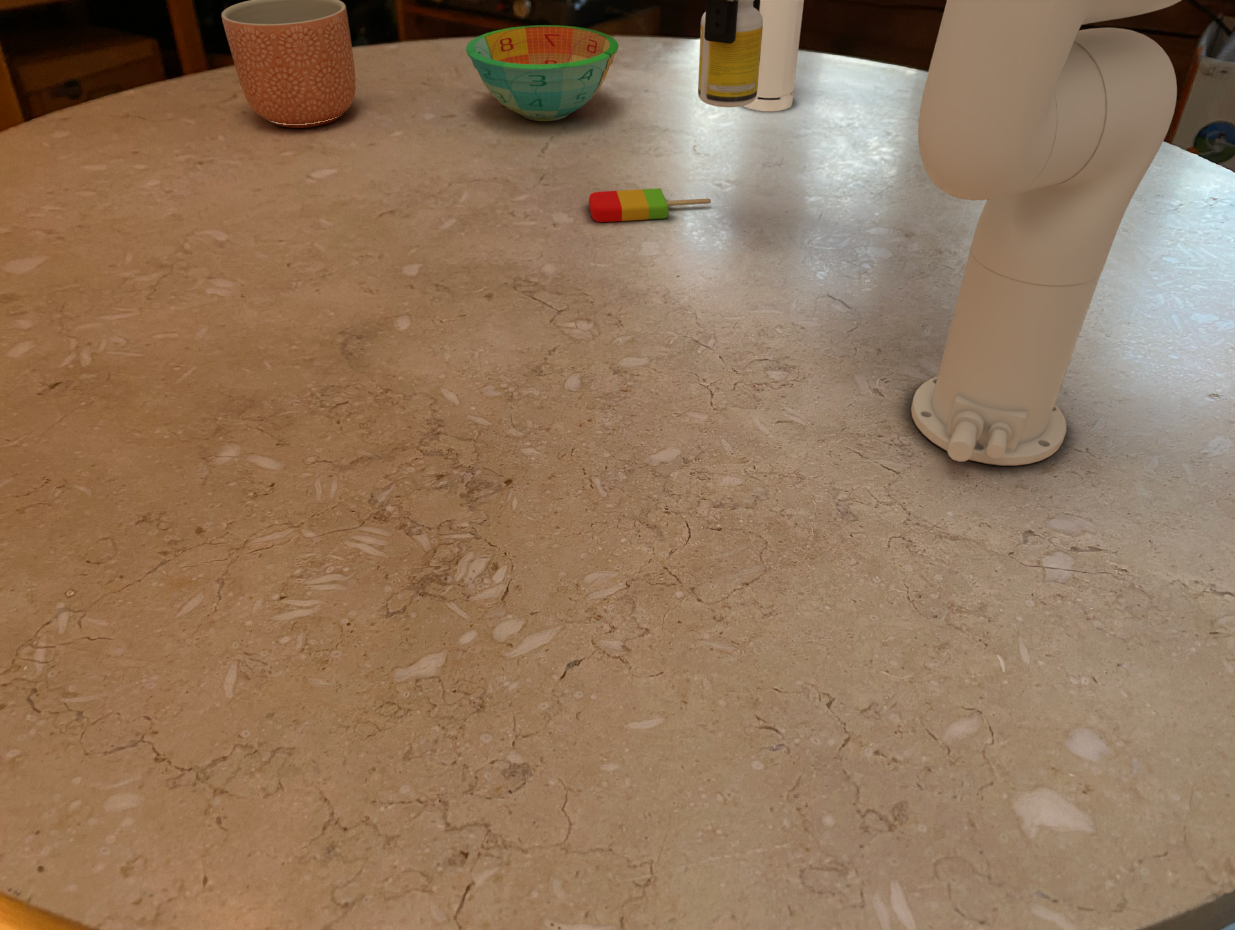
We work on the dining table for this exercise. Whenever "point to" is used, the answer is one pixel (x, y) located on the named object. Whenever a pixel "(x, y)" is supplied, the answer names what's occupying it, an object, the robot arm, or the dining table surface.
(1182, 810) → the dining table surface
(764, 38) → the bottle
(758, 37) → the pill bottle
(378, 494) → the dining table surface
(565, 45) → the bowl
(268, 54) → the planter
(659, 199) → the popsicle
